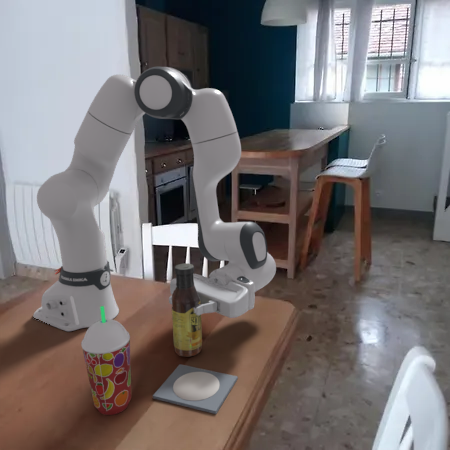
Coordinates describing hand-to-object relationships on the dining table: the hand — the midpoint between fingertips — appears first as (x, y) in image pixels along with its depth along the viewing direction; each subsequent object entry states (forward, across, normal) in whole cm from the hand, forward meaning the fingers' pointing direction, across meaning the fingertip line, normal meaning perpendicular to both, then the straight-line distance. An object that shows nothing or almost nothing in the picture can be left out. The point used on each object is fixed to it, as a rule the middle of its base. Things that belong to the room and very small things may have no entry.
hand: (182, 306), depth 95 cm
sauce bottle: (-1, 0, +11) cm, 11 cm away
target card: (+7, +11, +12) cm, 17 cm away
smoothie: (+20, +2, +12) cm, 24 cm away
